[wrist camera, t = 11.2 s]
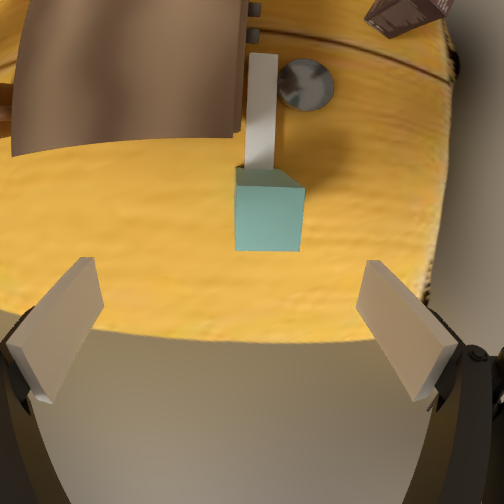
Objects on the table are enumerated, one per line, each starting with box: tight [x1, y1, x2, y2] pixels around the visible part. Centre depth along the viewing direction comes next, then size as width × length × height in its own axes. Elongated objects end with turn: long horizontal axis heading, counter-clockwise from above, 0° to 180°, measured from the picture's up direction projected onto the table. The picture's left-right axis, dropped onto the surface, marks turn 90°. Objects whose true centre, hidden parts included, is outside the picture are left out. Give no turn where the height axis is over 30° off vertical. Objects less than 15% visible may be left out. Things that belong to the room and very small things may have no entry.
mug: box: [0, 83, 14, 138], centre depth 21 cm, size 12×8×9 cm, turn 73°
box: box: [364, 0, 454, 39], centre depth 19 cm, size 6×4×12 cm
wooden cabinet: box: [11, 0, 261, 157], centre depth 18 cm, size 15×18×18 cm
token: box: [277, 59, 334, 112], centre depth 27 cm, size 6×6×2 cm
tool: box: [234, 53, 305, 251], centre depth 25 cm, size 5×18×12 cm, turn 178°
